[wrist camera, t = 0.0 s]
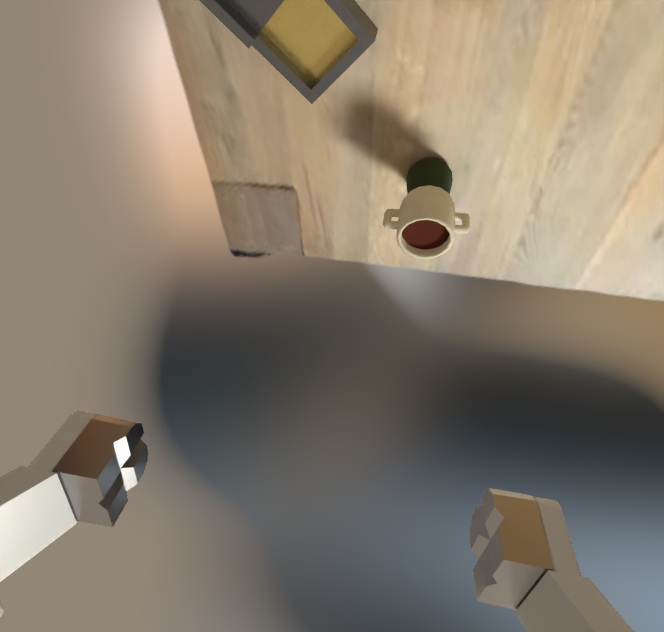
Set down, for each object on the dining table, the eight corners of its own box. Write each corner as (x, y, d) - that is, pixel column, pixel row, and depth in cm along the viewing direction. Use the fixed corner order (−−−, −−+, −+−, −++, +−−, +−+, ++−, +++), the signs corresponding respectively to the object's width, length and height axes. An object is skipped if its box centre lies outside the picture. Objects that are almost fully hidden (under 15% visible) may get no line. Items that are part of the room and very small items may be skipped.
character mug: (389, 193, 68) (380, 256, 60) (391, 151, 62) (381, 214, 54) (465, 197, 66) (465, 262, 58) (474, 154, 60) (475, 220, 53)
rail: (235, -143, 41) (221, -133, 39) (377, 29, 50) (373, 45, 48) (182, -44, 48) (168, -31, 45) (316, 91, 57) (310, 108, 55)
